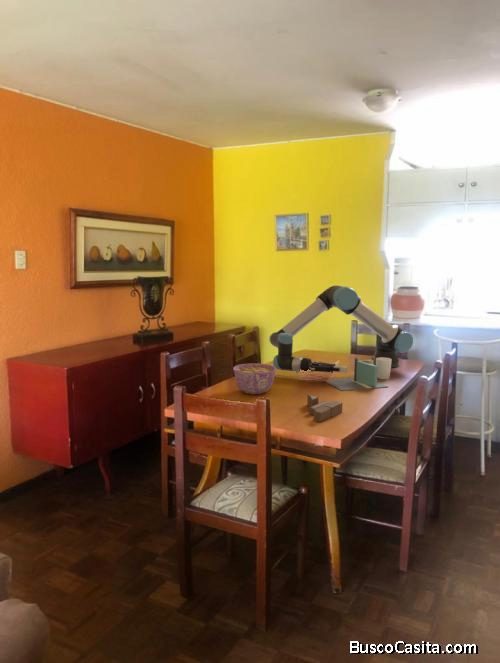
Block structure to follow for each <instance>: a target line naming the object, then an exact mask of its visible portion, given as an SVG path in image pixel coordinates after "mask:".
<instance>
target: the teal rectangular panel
mask: <svg viewBox="0 0 500 663" xmlns="http://www.w3.org/2000/svg"><path fill="white" fill-rule="evenodd" d="M377 367H378V366H375V365H372V364H368V363H364V362H361V361H359V360H358V361H357V372H356V381H358V382H361V383H364V384H367V385H370V386H373V387H376V386H377V382H378V378H377Z"/></svg>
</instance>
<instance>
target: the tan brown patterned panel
mask: <svg viewBox="0 0 500 663" xmlns="http://www.w3.org/2000/svg"><path fill="white" fill-rule="evenodd" d="M357 361H361V362H364V363H368V364H372V365H375V357H374V356H372V357H371V359H359V357H358V358H357V357H356V358H354V368H353V370H354V375H353V378H354V381H356V372H357Z"/></svg>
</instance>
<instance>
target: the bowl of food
mask: <svg viewBox="0 0 500 663" xmlns="http://www.w3.org/2000/svg"><path fill="white" fill-rule="evenodd" d="M232 369H233V373H234V377H235V382H236V385H237V387H238V388H239V390H242V391H243V392H245V393H246V392H247V393H250V394H249V395H253V394H257V395H261V394H264V393H265V392H267V391H269V390H270V389H271V388H272V386H273V384H274V380H275V376H276V372H277V369H276V367H274V366H273V364H266V363H253V362H252V363H242V364H238V365H234V367H233V368H232ZM247 393H246V394H247Z"/></svg>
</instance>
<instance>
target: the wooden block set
mask: <svg viewBox="0 0 500 663" xmlns="http://www.w3.org/2000/svg"><path fill="white" fill-rule="evenodd" d="M306 398H307V400H306V402H307V403H306V406H308V408H307V413H308V414H309V415H310V416H313V420H314V421H315V422H317V423H322V422H324V421H326V420H328V419H330V418H334V417H336V416H338V415H340V414H342V413H343V402H342V401H337V400H331V401H327V400H324V401H322V402H319V396H315V395H310V394H307V396H306Z"/></svg>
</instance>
